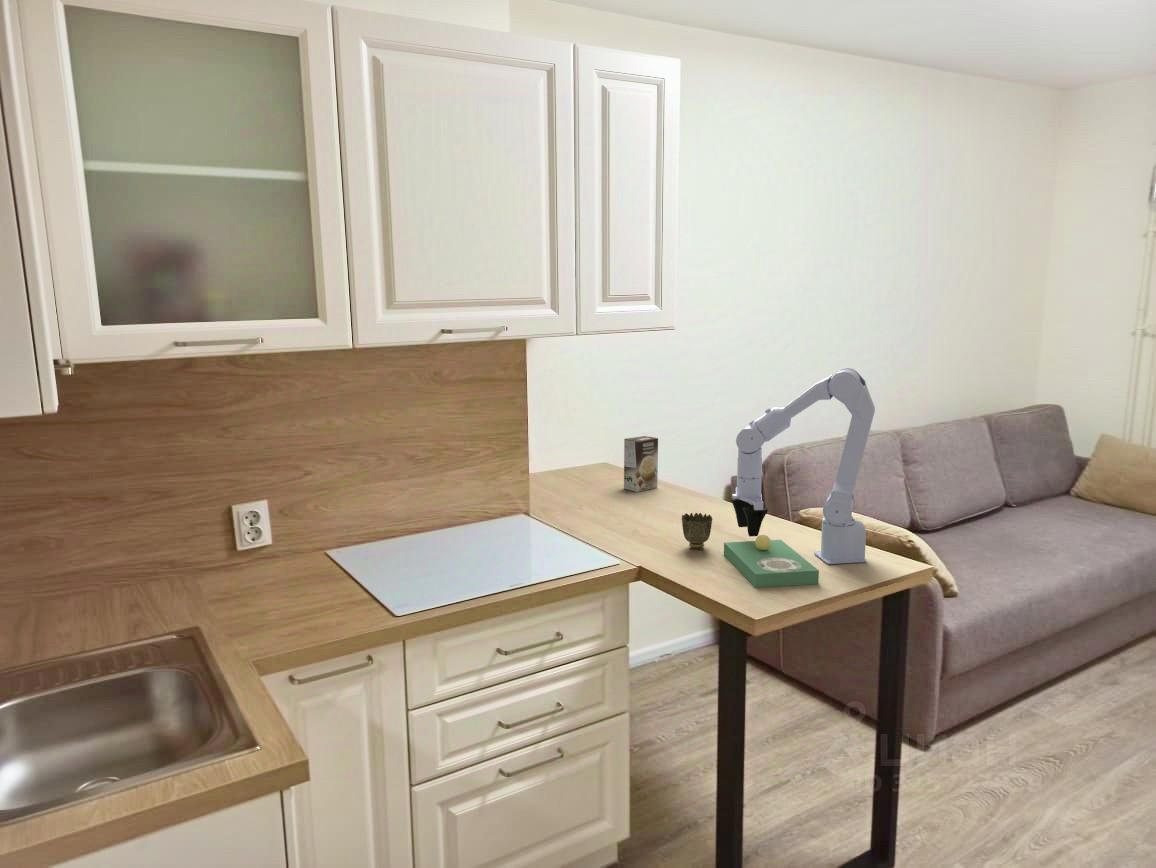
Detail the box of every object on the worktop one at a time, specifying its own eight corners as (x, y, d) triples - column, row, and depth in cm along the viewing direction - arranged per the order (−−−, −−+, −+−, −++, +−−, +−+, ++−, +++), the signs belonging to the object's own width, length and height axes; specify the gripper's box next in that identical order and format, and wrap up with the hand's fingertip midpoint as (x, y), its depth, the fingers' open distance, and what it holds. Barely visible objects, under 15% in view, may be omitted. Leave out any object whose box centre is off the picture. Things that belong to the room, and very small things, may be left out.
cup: (711, 553, 198) (711, 521, 197) (680, 552, 200) (680, 520, 198) (712, 544, 205) (713, 512, 204) (682, 542, 207) (682, 511, 205)
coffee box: (637, 492, 257) (637, 441, 254) (623, 488, 261) (623, 438, 259) (658, 487, 262) (658, 437, 259) (644, 484, 267) (644, 435, 264)
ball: (767, 547, 193) (768, 532, 192) (773, 552, 189) (773, 537, 189) (752, 548, 192) (753, 533, 192) (758, 553, 189) (758, 537, 188)
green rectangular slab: (780, 551, 199) (780, 539, 199) (818, 583, 178) (818, 570, 177) (723, 554, 197) (724, 542, 197) (755, 587, 176) (755, 574, 175)
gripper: (723, 470, 205) (722, 523, 207) (743, 484, 191) (741, 541, 193) (751, 469, 206) (750, 522, 208) (772, 483, 192) (770, 539, 194)
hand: (747, 531), depth 201 cm, fingers open, 7 cm apart
